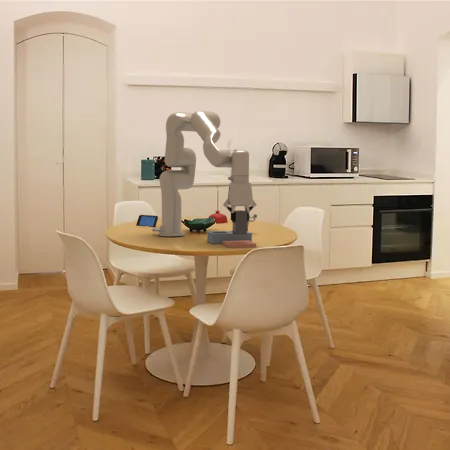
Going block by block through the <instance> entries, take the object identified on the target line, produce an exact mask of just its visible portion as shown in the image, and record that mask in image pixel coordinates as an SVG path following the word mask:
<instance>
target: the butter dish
mask: <svg viewBox="0 0 450 450" xmlns="http://www.w3.org/2000/svg"><path fill="white" fill-rule="evenodd" d="M210 217H213V218H214V219H215V220H216V225H217V224H228V216H227V215H226V214H224V213H221V210H215V213H212V214H209V216H208V218H210Z"/></svg>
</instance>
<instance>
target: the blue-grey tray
mask: <svg viewBox="0 0 450 450" xmlns="http://www.w3.org/2000/svg"><path fill="white" fill-rule="evenodd" d="M206 235H207V238H206V239H207V242H208V243H210V244H211V245H223V241H247V240H249V241H251V242H253V240H252V238H253V232H250V231H249V230H248V231H247V234H245V235H235V234H233V230H217V231H216V230H209V231H207V233H206Z"/></svg>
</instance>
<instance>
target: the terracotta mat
mask: <svg viewBox="0 0 450 450" xmlns="http://www.w3.org/2000/svg"><path fill="white" fill-rule="evenodd" d="M222 246H225V247H227V248H229V249H240V248H245V249H246V248H257V242H253V241H252V242H251V241H249V240H247V241H223V244H222Z"/></svg>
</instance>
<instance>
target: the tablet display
mask: <svg viewBox="0 0 450 450" xmlns="http://www.w3.org/2000/svg"><path fill="white" fill-rule="evenodd" d="M158 220H159V216H158V215H151V214H150V215H149V214H139V216H138V219H137V222H136V225H135V226H136V227H146V226H148V227H147V228H149V227H150V228H154V227H157V223H158Z"/></svg>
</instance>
